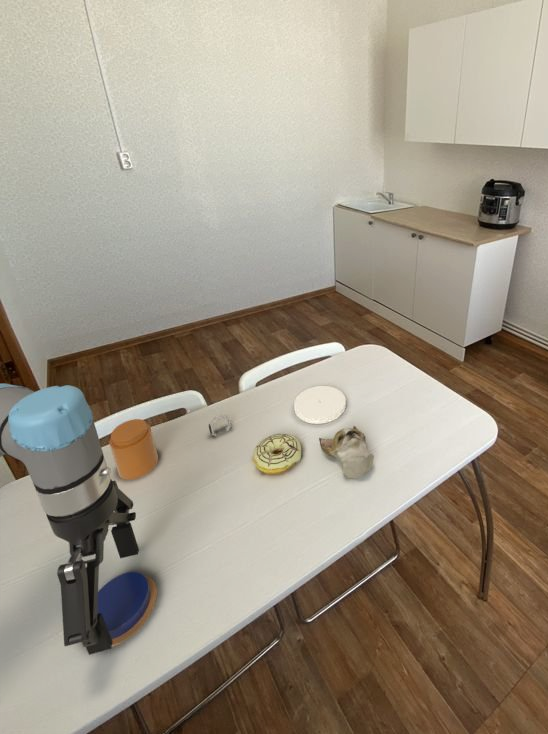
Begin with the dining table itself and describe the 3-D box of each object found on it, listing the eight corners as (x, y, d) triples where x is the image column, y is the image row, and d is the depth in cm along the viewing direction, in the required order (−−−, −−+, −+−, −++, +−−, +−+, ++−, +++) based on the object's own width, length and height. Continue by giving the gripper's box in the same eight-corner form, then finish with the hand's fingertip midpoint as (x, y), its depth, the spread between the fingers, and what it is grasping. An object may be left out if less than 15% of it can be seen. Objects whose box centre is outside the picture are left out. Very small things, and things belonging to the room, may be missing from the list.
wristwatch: (209, 434, 96) (206, 418, 95) (229, 426, 99) (226, 410, 97) (213, 441, 94) (210, 425, 92) (233, 432, 97) (230, 416, 95)
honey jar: (110, 477, 85) (98, 439, 81) (138, 450, 92) (129, 414, 88) (139, 485, 83) (128, 446, 79) (166, 457, 90) (157, 420, 86)
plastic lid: (289, 400, 108) (288, 393, 108) (336, 388, 113) (335, 381, 113) (302, 433, 96) (301, 425, 95) (353, 418, 101) (353, 410, 100)
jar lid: (162, 587, 63) (160, 580, 62) (120, 648, 55) (117, 640, 55) (122, 573, 65) (119, 565, 64) (76, 629, 57) (72, 622, 57)
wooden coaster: (67, 638, 57) (66, 635, 57) (123, 570, 66) (122, 567, 66) (121, 661, 55) (119, 657, 54) (171, 586, 64) (170, 583, 63)
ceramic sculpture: (339, 460, 77) (314, 418, 90) (341, 495, 79) (317, 449, 92) (385, 443, 81) (355, 405, 94) (386, 476, 83) (357, 435, 96)
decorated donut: (310, 463, 87) (309, 450, 86) (265, 487, 82) (264, 473, 80) (289, 436, 95) (288, 424, 94) (248, 456, 89) (246, 443, 88)
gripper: (71, 582, 41) (117, 693, 49) (136, 426, 64) (161, 518, 71) (-12, 602, 40) (49, 714, 47) (85, 435, 62) (116, 528, 69)
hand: (116, 596), depth 59 cm, fingers open, 13 cm apart
